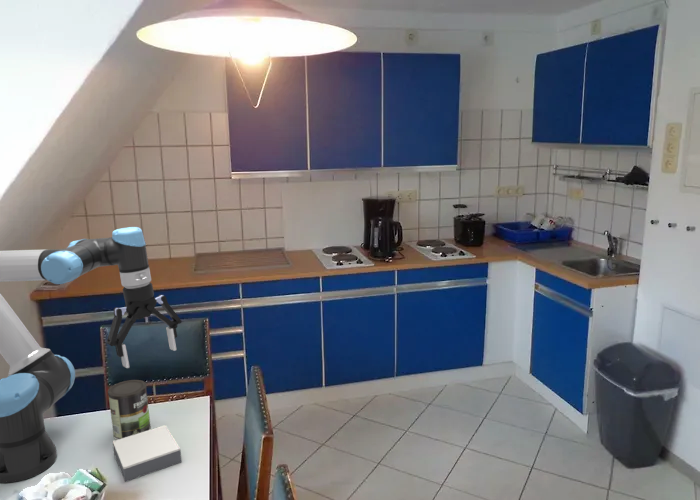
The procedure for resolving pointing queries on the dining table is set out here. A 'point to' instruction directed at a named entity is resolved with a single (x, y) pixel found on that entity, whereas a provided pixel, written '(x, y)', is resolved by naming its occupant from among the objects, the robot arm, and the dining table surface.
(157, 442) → the plinth
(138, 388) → the coffee can
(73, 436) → the dining table surface
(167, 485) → the dining table surface
